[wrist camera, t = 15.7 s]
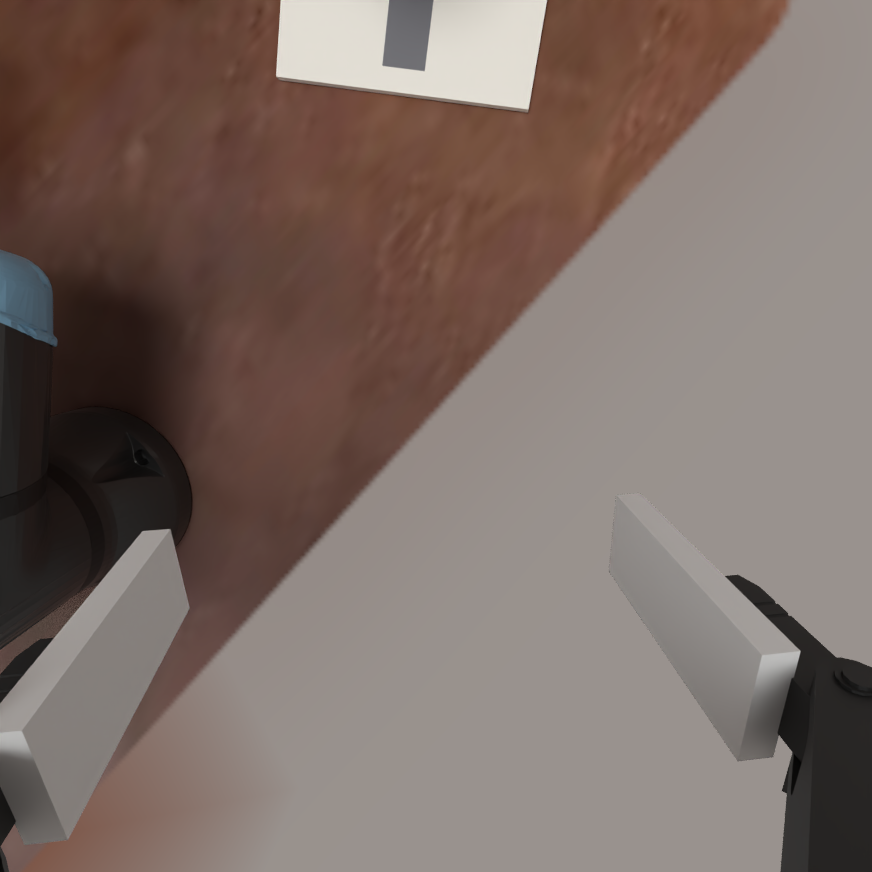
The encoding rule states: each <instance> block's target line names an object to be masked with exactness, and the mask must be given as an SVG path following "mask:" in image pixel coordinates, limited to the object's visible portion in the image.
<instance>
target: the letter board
mask: <svg viewBox="0 0 872 872" xmlns="http://www.w3.org/2000/svg"><path fill="white" fill-rule="evenodd" d="M546 3H547V0H281V7H280V23H279V39H278V55H277V72H276V77H277V78H278V79H279V80H283V81H290V82H298V83H306V84H313V85H321V86H329V87H336V88H344V89H352V90H359V91H367V92H375V93H382V94H390V95H397V96H405V97H413V98H420V99H428V100H436V101H443V102H451V103H459V104H466V105H474V106H482V107H489V108H497V109H505V110H512V111H520V112H528V110H529V104H530V98H531V92H532V86H533V80H534V74H535V68H536V62H537V56H538V51H539V45H540V39H541V33H542V27H543V21H544V15H545V9H546Z"/></svg>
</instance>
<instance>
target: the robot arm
mask: <svg viewBox="0 0 872 872" xmlns="http://www.w3.org/2000/svg"><path fill="white" fill-rule="evenodd" d="M57 343H58V341H57V338H56V337H55V336H54V335H53V291H52V286H51V283H50V281H49V279H48V277H47V276H46V274H45V273H44V272H43V271H42V270H41V269H40V268H39V267H38V266H37V265H35V264H34V263H33V262H31V261H30V260H28V259H26V258H24V257H21V256H18V255H15V254H13V253H10V252H6V251H3V250H0V649H2V648H3V647H5V646H6V645H7V644H9V643H10V642H11V641H13V640H14V639H16V638H17V637H18V636H20V635H21V634H22V633H24V632H25V631H27V630H28V629H29V628H31V627H32V626H33V625H35V624H36V623H38V622H39V621H40V620H42V619H43V618H44V617H46V616H47V615H49V614H50V613H51V612H53V611H54V610H55V609H57V608H58V607H60V606H61V605H62V604H64V603H65V602H66V601H68V600H69V599H70V598H72V597H73V596H75V595H76V594H77V593H79V592H80V591H82V590H83V589H85V588H89V587H92V586H96V585H98V586H97V587H96V588H95V589H94V590H93V592H92V593H91V594H90V595H89V597H88V598H87V599H86V600H85V601H84V603H83V604H82V605H81V606H80V607H79V609H78V610H77V611H76V612H75V613H74V615H73V616H72V617H71V618H70V620H69V621H68V622H67V623H66V624H65V626H64V627H63V628H62V629H61V630H60V632H59V633H58V634H57V635H56V636H55V638H47V639H40V640H38V641H37V642H36V643H34V644H33V645H31V646H30V647H29V648H27V649H26V650H24V651H23V652H22V653H20V654H19V655H18V656H16V657H15V658H14V660H13V661H12V662H11V663H10V664H9V665H8V666H7V667H6V669H5V670H4V671H3V672H2V673H1V674H0V846H1V844H2V843H3V841H4V840H5V838H6V837H7V835H8V833H9V832H10V830H11V829H12V827H13V825H14V824H15V825H16V828H17V830H18V832H19V834H20V836H21V838H22V840H23V842H24V845H28V844H37V843H45V842H54V841H62V840H68V839H69V836H70V835H71V833H72V831H73V829H74V827H75V825H76V823H77V821H78V819H79V818H80V815H81V814H82V812H83V810H84V808H85V806H86V804H87V802H88V801H89V799H90V797H91V795H92V793H93V791H94V789H95V787H96V785H97V783H98V782H99V780H100V778H101V776H102V774H103V772H104V770H105V768H106V766H107V764H108V763H109V761H110V759H111V757H112V755H113V753H114V751H115V749H116V747H117V745H118V744H119V742H120V740H121V738H122V736H123V734H124V732H125V730H126V728H127V726H128V725H129V723H130V721H131V719H132V717H133V715H134V713H135V711H136V709H137V707H138V706H139V704H140V702H141V700H142V698H143V696H144V694H145V692H146V690H147V688H148V686H149V685H150V683H151V681H152V679H153V677H154V675H155V673H156V671H157V669H158V667H159V666H160V664H161V662H162V660H163V658H164V656H165V654H166V652H167V650H168V648H169V647H170V645H171V643H172V641H173V639H174V637H175V635H176V633H177V631H178V629H179V628H180V626H181V624H182V622H183V620H184V618H185V616H186V614H187V612H188V610H189V609H190V607H189V603H188V599H187V595H186V591H185V587H184V583H183V579H182V575H181V570H180V566H179V562H178V558H177V554H176V550H175V546H176V545H177V544H178V543H179V541H180V540H181V538H182V537H183V535H184V533H185V531H186V528H187V526H188V523H189V519H190V513H191V491H190V485H189V481H188V478H187V475H186V472H185V469H184V467H183V465H182V463H181V461H180V459H179V457H178V456H177V454H176V453H175V451H174V450H173V448H172V447H171V446H170V444H169V443H168V442H167V441H166V440H165V439H164V438H163V437H162V436H161V435H160V434H159V433H158V432H157V431H156V430H155V429H153V428H152V427H151V426H150V425H148V424H147V423H145V422H144V421H142V420H140V419H139V418H137V417H135V416H133V415H130V414H128V413H125V412H123V411H119V410H116V409H111V408H104V407H87V408H81V409H76V410H72V411H68V412H64V413H61V414H57V415H54V416H52V417H50V410H51V387H52V365H53V347H57ZM609 572H610V574H611V575H612V577H613V578H614V580H615V581H616V583H617V584H618V586H619V587H620V588H621V590H622V591H623V593H624V594H625V596H626V597H627V599H628V600H629V602H630V603H631V605H632V606H633V608H634V609H635V611H636V612H637V614H638V615H639V617H640V618H641V620H642V621H643V623H644V624H645V625H646V627H647V628H648V630H649V631H650V633H651V634H652V636H653V637H654V639H655V640H656V642H657V643H658V645H659V646H660V648H661V649H662V651H663V652H664V653H665V655H666V656H667V658H668V659H669V661H670V662H671V664H672V665H673V667H674V668H675V670H676V671H677V673H678V674H679V676H680V677H681V679H682V680H683V681H684V683H685V684H686V686H687V687H688V689H689V690H690V692H691V693H692V695H693V696H694V698H695V699H696V700H697V702H698V704H699V705H700V707H701V708H702V709H703V711H704V712H705V714H706V715H707V717H708V718H709V720H710V721H711V723H712V724H713V726H714V727H715V729H716V730H717V731H718V733H719V734H720V736H721V737H722V739H723V740H724V742H725V743H726V745H727V746H728V748H729V749H730V751H731V752H732V754H733V755H734V757H735V758H736V759H737V761H744V760H753V759H761V758H769V757H773V755H774V752H775V747H776V744H777V740H778V736H779V735H780V737H781V738H782V739H783V741H784V742H785V743H786V744H787V746H788V747H789V748H790V749H791V751H792V752H793V753H792V757H791V760H790V764H789V767H788V771H787V775H786V778H785V782H784V785H783V789H782V791H783V792H785V793H787V800H786V812H785V824H784V837H783V849H782V861H781V872H872V667H869V666H867V665H864V664H862V663H860V662H857V661H854V660H849V659H844V658H836V657H835V656H834V655H833V654H832V653H831V652H830V651H828V650H827V649H826V648H825V647H824V646H823V645H822V644H821V643H820V642H819V641H818V640H817V639H815V638H814V637H813V636H812V635H811V634H810V633H809V632H808V631H807V630H806V629H805V628H804V627H802V626H801V625H800V624H799V623H798V622H797V621H796V620H795V619H794V618H793V617H792V616H788V613H787V612H786V611H785V610H784V609H783V608H782V607H781V606H780V605H779V604H775V601H774V600H773V599H772V598H771V597H770V596H769V595H768V594H767V593H766V592H765V591H763V590H762V589H761V588H760V587H759V586H757V585H755V584H754V583H752V582H750V581H748V580H746V579H745V578H743V577H741V576H739V575H732V576H724V575H723V574H722V573H721V572H720V571H719V570H718V569H717V568H716V567H715V566H714V565H713V564H712V563H711V562H710V561H709V560H708V559H707V558H706V557H705V556H704V555H702V553H701V552H699V550H698V549H696V547H695V546H693V544H692V543H691V542H690V541H689V540H688V539H686V538H685V537H684V536H683V535H682V534H681V533H680V532H679V531H678V530H677V529H676V528H675V527H674V526H673V525H672V524H671V523H670V522H669V521H668V520H667V519H666V518H665V517H664V516H663V515H662V514H661V513H660V512H659V511H658V510H657V509H656V508H655V507H654V506H653V505H652V504H651V503H650V502H649V501H648V500H647V499H646V498H645V497H644V496H643V495H642V494H641V493H633V494H620V495H616V500H615V511H614V522H613V533H612V544H611V554H610V565H609ZM0 872H9V869H8V865H7V861H6V857H5V855H4V853H3V851H2V849H1V847H0Z"/></svg>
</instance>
